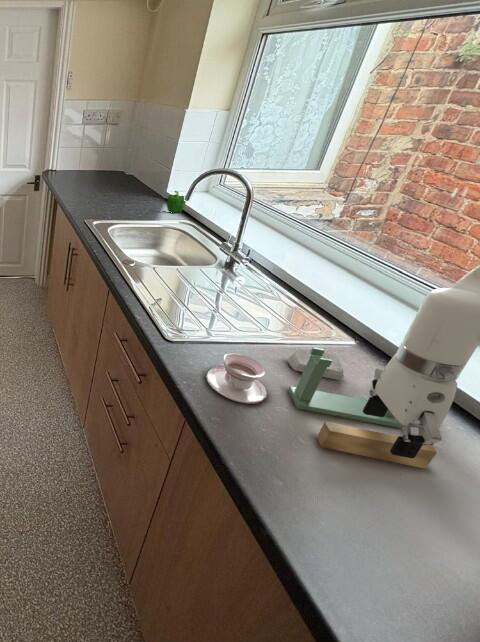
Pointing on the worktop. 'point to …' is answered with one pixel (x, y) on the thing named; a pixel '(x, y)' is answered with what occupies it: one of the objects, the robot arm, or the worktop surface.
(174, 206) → the bell pepper
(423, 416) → the robot arm
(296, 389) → the hanger stand
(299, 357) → the grey stone block
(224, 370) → the teacup
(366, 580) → the worktop surface
